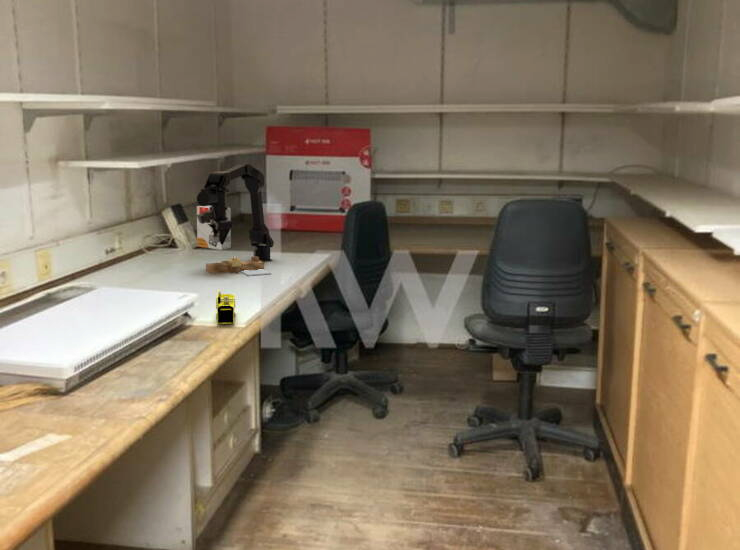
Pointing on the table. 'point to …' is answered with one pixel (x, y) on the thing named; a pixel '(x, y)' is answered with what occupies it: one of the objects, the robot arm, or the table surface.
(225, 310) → the yellow toy chassis
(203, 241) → the hard drive box
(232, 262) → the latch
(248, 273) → the mat
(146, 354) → the table surface
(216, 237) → the cap plate
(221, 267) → the plane body
